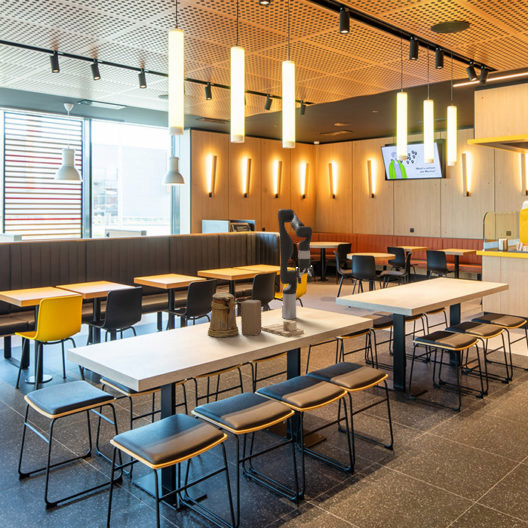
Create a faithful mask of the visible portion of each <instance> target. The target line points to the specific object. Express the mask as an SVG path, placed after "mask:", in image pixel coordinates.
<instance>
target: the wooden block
mask: <svg viewBox="0 0 528 528" xmlns="http://www.w3.org/2000/svg"><path fill="white" fill-rule="evenodd" d="M240 315H241V317H240V322H241V327H240V328H241V335H245V336H257V335H259V334H261V333H262V330H261V327H262V301H261V300H258V299H246V300H244V301H241V303H240Z"/></svg>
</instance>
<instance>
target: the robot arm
mask: <svg viewBox="0 0 528 528" xmlns="http://www.w3.org/2000/svg"><path fill="white" fill-rule="evenodd" d="M277 222H278V230H279V231H278V232H279V255H280V267H279V268H280V269H279V279H280V280H279V281H280V282H281V284H283V285H287V286H286V287H285V288H283V289H282V304H281V318H283V319H284V318H285V319H286V320H294V319H297V289H298V284H299V285H301V284H302V276H303V275H305V274H306V275H307V282H308V283H312V276H314V274H315V272H314V271H315V270H314V266H313V265H311V253H310V250H311V249H310V248H311V244H310V243H311V239H312V237H313V228H312V226H309V225H306V226H305V223H303V222H302V221H301V220H300V219H299V217H298V216H297V214H296V212H295V211H294V210H293V209H291V208H283V209H282V208H279V210H278V212H277ZM286 223H290V226H291V228H292V229H293V231H294V232H295V235H296V237H297V238H299V239H301V238H305V239H303V240H301V241H299V242H298V261H297V262H298V263H297V264H298V266H299V267H295V268H294V269H289V270H288V265H289V261H290V260H291V258H292V257H293V253H294V240H293V239H292V237H291V236H290V234H289V233H288V231H287V229H286V225H285V224H286Z"/></svg>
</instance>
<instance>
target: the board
mask: <svg viewBox="0 0 528 528" xmlns="http://www.w3.org/2000/svg"><path fill="white" fill-rule="evenodd" d="M261 331H264V332H268V333H270V332H271V334H274V333H276V334H275V335H278V334H280V335H279V336H282V335H283V336H282V337H285V336H288V337H292V335H293V336H297V335H301V333H302V334H304V333H305V331H304V329H302V328H297V331H293V332H290V331H286V330H283V324H282V323H275V324H270V325H264V326H261ZM296 334H297V335H296Z"/></svg>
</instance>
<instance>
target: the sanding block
mask: <svg viewBox="0 0 528 528" xmlns="http://www.w3.org/2000/svg"><path fill="white" fill-rule="evenodd" d="M282 323H283V324H282V325H283V330H286V331H290V332H293V331H297V326H298V325H297V321H296V320H295V321H294V320H292V319H286V320H283V322H282Z"/></svg>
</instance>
